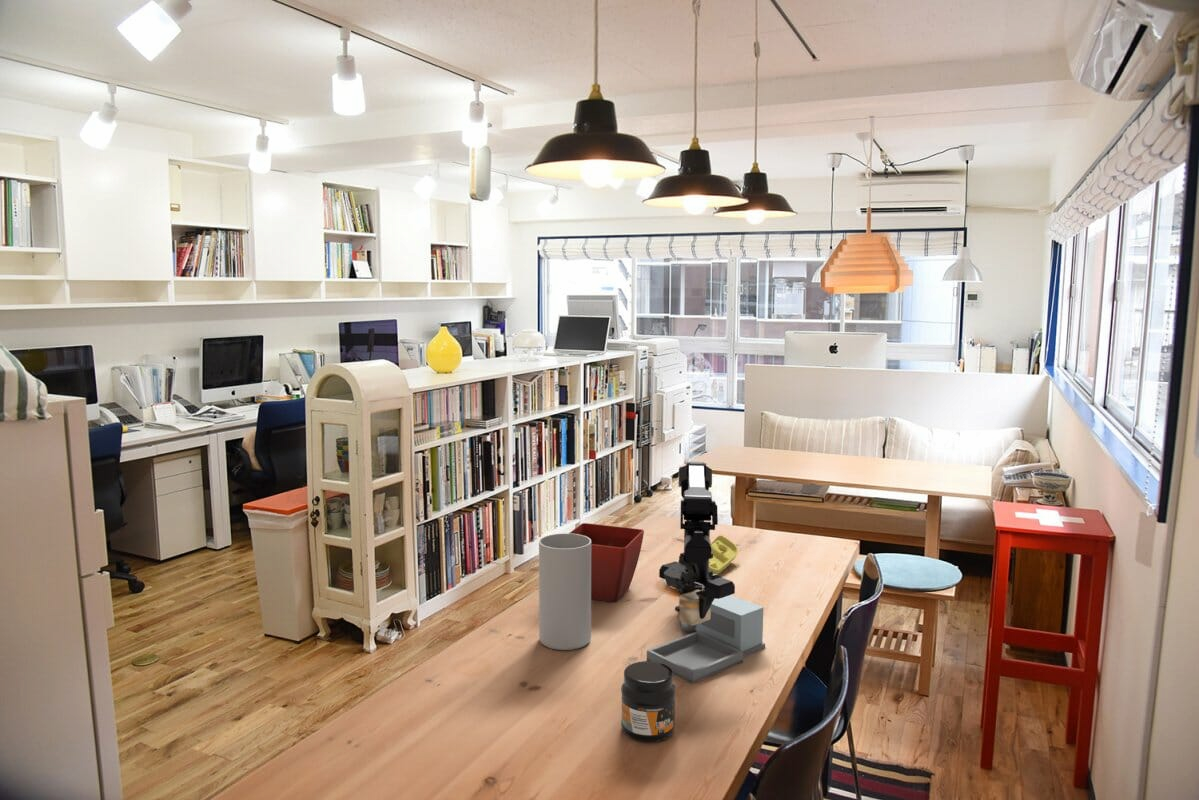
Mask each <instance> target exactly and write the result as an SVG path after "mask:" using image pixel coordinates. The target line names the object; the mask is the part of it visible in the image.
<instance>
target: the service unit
mask: <svg viewBox="0 0 1199 800" xmlns="http://www.w3.org/2000/svg"><path fill="white" fill-rule="evenodd" d="M763 631H764V606H761V605H759V604H756V603H753V602H750V601H748V600H745V599H743V598H739V597H737V596H734V595H733V594H732V595H729V596H726V597H723V598H720V599H714V600H713V602H712V604H711V615H710V620H707V621H705V622H702V623H699V624H697V625H696V632H699V633H701V634H703V635H706V636H708V637H710V638H713V639H715V640H717V641H720V642H722V643H724V644H727V645H729V646H731V647H734V648H736V649H738V650H741V651H743V658H744V657H746V656H748V655H751V654H752V653H755V652H758V651H760V650H763V649H765V648H766V643H765V642H763V636H764V634H763Z"/></svg>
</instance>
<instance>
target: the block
mask: <svg viewBox="0 0 1199 800" xmlns="http://www.w3.org/2000/svg"><path fill="white" fill-rule="evenodd" d="M699 591H701V590H699V589H698V590H695V591H692V592H688V593H685V594H682V595H680V594H679V597H680V599H678V600H679V601H678V603H679V604H680V611H679V616H678V617H679V622H681V621H682V622H684V623H686V624H689V625H691V626H693V625H696V624H699V623H702V622H705V621H707V620H710V615H711V606H710V608H709V610H708V612H707V614H706V616H705V618H703V619H700V613H699V597H698V596H697V594H696V592H699Z"/></svg>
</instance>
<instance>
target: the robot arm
mask: <svg viewBox="0 0 1199 800" xmlns="http://www.w3.org/2000/svg"><path fill="white" fill-rule="evenodd" d="M712 485H713V469H712V468H710V467H709V466H707V463H706V462H705V461H704V462H703V461H688V462H686V463H685V465H683V466H682V467H680V468H678V487H679V488H680V496H681V498H682V499H680V530H683V531H684V533H683V534H684V535H683V552H681V553H680V554H679V555H678V556H679V557H678V561H672V562H668V563H665V564H662V565H661V566H660V568H659V570H658V573H659V575H658V576H659V578H660V579H663V580H665V583H666V586H667V587H671V588H673V589H675V590H676V591H678V593H679V599H680V595H682V594H685V593H688V592H692V591H695V590H698V589H699V590H701V591H699V592H696V594H697V596H698V597H699V613H700V619H703V618H705V616H706V614H707V612H708V610H709V608H710V606H711V604H712V602H713V600H714V599H720V598H723V597H726V596H729V595H732V596H733V595H735V593H736V592H735V591H736V589H735V588H736V584H735V583H734V582H733V581H732V580H730V579H726V578H724V577H718V578H715V579H712V577H711V576H713V571H710V570H709V559H712V558H713V554H712V553H711V552H712V549H711V543H712V542H711V536H710V534H711V531H715V530H716V526H718V524H719V522H718V521H719V520H718V515H719V514H718V505H717V504H716V503H717V502H716V501H715V500H714V499H713V495H712V492H711V491H710V489H711V488H712V487H713V486H712ZM679 599H678V600H679ZM674 609H675V610H677V611H679V612H680V604H679V605H676V606H675V607H674Z"/></svg>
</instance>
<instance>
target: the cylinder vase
mask: <svg viewBox="0 0 1199 800" xmlns="http://www.w3.org/2000/svg"><path fill="white" fill-rule="evenodd" d="M538 599H539V600H538V603H539V604H538V607H539V608H538V609H539V611H538V612H539V613H538V615H539V616H538V617H539V619H538V620H539V623H538V625H539V627H538V628H539V634H538V635H539V636H538V638H539V641H540V643H541V644H542V645H543V646H545V647H546V648H549V649H552V650H557V651H573V650H578V649H580V648H581V649H582V648H583V647H585V646H587V645H588V644H589V643H590V641H591V638H592V599H591V539H590V538H588V537H586V536H583V535H579V534H570V532H568V533H566V532H565V533H554V534H552V533H551V534H548V535H545V536H543V537H541V538H540V539H539V540H538Z"/></svg>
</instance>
